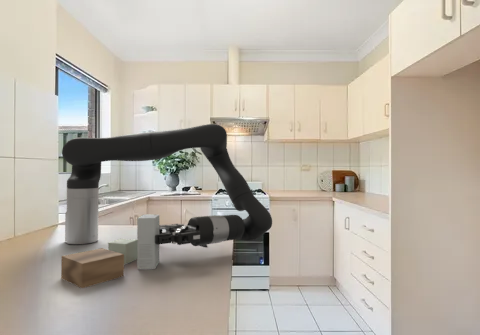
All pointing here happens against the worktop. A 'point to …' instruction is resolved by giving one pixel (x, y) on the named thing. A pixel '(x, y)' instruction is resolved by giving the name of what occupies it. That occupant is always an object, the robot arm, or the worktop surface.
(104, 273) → the walnut block
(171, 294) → the worktop surface
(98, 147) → the robot arm
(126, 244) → the grey-green cube
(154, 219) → the skincare box
